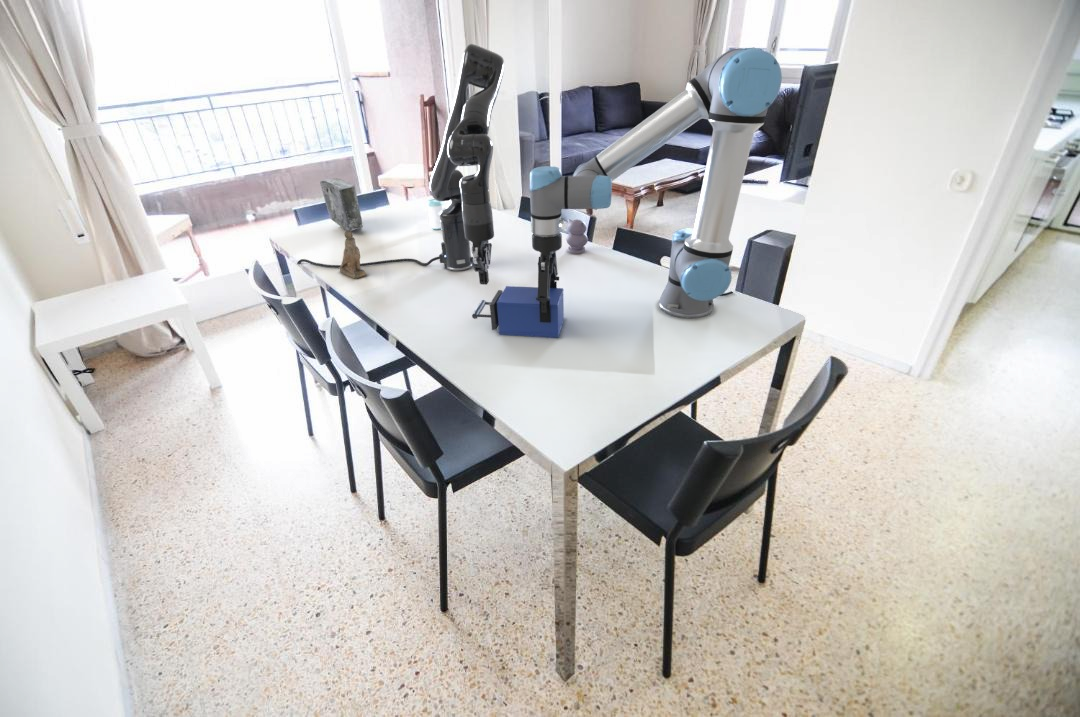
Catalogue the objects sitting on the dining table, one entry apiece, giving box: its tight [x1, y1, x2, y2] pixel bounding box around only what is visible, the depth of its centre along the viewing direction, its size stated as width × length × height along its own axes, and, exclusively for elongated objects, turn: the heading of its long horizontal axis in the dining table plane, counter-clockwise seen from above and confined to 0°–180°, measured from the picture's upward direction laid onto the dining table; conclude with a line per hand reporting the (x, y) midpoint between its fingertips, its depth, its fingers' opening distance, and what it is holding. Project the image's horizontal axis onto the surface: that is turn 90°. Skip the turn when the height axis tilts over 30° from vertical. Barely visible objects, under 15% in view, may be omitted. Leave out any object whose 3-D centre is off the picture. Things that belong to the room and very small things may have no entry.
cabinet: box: [497, 285, 565, 339], centre depth 136 cm, size 16×11×10 cm, turn 80°
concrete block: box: [319, 177, 364, 232], centre depth 222 cm, size 27×9×20 cm, turn 36°
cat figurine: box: [565, 218, 589, 255], centre depth 187 cm, size 9×8×12 cm
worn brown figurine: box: [339, 230, 367, 280], centre depth 174 cm, size 12×6×18 cm, turn 43°
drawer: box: [471, 289, 504, 331], centre depth 137 cm, size 20×10×8 cm, turn 80°
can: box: [426, 198, 445, 230], centre depth 220 cm, size 7×7×12 cm
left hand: (484, 283), depth 134 cm, fingers closed
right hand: (548, 312), depth 136 cm, fingers closed on cabinet, 11 cm apart
